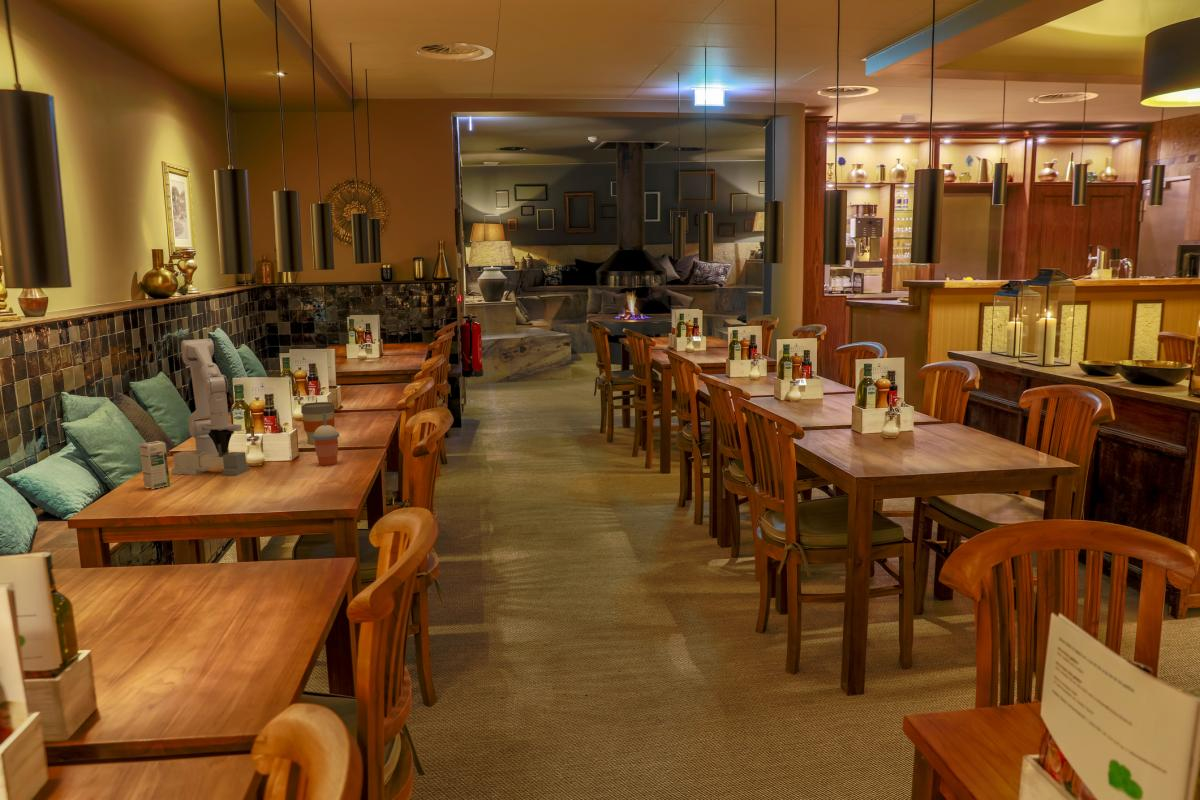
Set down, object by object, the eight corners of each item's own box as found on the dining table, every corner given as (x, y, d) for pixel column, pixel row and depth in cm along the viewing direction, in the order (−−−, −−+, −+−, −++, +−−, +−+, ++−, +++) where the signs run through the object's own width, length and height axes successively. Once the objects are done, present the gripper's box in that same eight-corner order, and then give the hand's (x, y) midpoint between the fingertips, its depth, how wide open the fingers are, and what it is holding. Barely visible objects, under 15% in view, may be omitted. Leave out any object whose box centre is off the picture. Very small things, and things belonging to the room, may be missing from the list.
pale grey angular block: (196, 466, 298) (194, 443, 297) (203, 464, 302) (200, 441, 300) (234, 467, 296) (232, 444, 294) (240, 464, 299) (238, 442, 298)
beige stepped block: (172, 474, 298) (170, 455, 297) (187, 468, 306) (185, 450, 304) (196, 474, 296) (194, 455, 295) (210, 469, 304) (209, 450, 303)
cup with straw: (336, 466, 303) (332, 415, 301) (310, 466, 304) (306, 415, 301) (344, 460, 312) (341, 410, 310) (319, 460, 313) (315, 411, 310)
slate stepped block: (222, 475, 295) (220, 456, 293) (235, 469, 302) (234, 450, 301) (235, 475, 294) (233, 456, 293) (249, 469, 301) (247, 451, 300)
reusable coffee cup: (304, 440, 350) (301, 403, 347) (336, 437, 353) (334, 401, 351) (303, 446, 338) (300, 408, 336) (337, 443, 342) (334, 405, 339)
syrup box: (152, 490, 277) (147, 445, 275) (143, 487, 281) (138, 443, 278) (170, 486, 282) (165, 442, 279) (161, 483, 285) (156, 440, 283)
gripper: (191, 414, 293) (195, 453, 295) (231, 414, 290) (235, 454, 292) (204, 410, 300) (208, 449, 302) (243, 410, 297) (247, 450, 299)
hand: (222, 451), depth 298 cm, fingers closed on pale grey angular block
